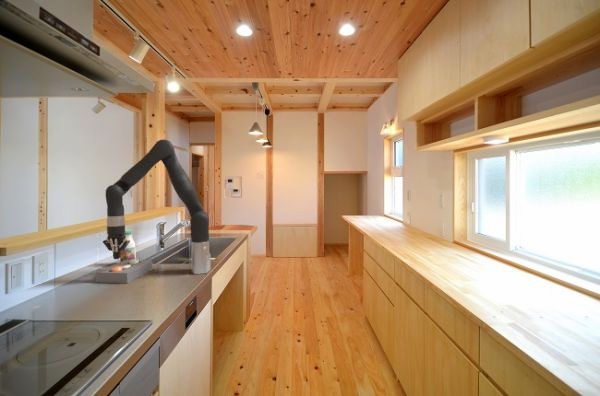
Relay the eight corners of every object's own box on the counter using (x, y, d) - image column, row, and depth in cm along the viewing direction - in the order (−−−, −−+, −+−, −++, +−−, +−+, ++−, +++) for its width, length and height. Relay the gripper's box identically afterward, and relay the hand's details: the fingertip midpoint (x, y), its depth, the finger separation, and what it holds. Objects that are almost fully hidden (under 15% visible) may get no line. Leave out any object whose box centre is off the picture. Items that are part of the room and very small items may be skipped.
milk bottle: (121, 263, 162) (121, 230, 161) (136, 262, 165) (136, 230, 164) (119, 267, 155) (118, 233, 154) (134, 266, 158) (134, 232, 157)
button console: (152, 269, 152) (152, 260, 152) (127, 283, 132) (127, 273, 131) (125, 268, 153) (124, 260, 153) (95, 282, 132) (95, 272, 132)
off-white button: (132, 272, 144) (132, 264, 144) (127, 275, 140) (127, 267, 140) (124, 271, 145) (124, 264, 144) (119, 274, 140) (118, 267, 140)
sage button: (140, 265, 151) (140, 258, 151) (135, 268, 146) (135, 261, 146) (132, 265, 151) (132, 258, 151) (127, 268, 147) (127, 260, 146)
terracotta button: (124, 273, 138) (124, 266, 138) (118, 276, 133) (118, 268, 133) (116, 273, 138) (115, 265, 138) (109, 276, 134) (109, 268, 133)
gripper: (133, 223, 138) (134, 257, 139) (108, 223, 138) (109, 256, 139) (123, 226, 130) (124, 261, 131) (97, 225, 131) (98, 260, 132)
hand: (116, 258), depth 135 cm, fingers closed
